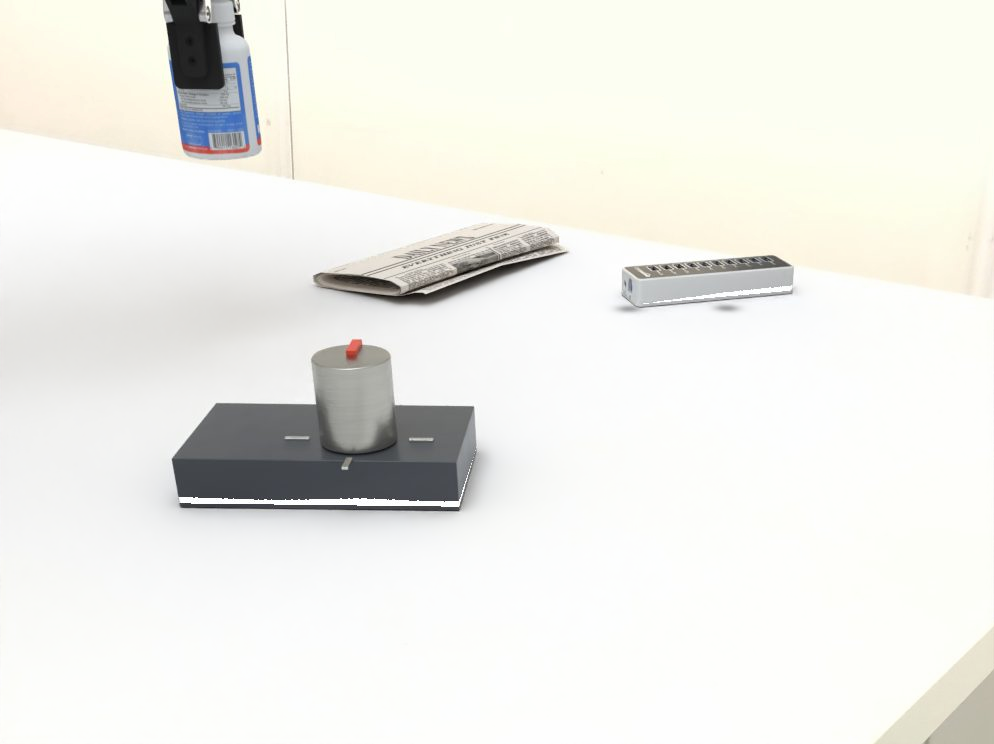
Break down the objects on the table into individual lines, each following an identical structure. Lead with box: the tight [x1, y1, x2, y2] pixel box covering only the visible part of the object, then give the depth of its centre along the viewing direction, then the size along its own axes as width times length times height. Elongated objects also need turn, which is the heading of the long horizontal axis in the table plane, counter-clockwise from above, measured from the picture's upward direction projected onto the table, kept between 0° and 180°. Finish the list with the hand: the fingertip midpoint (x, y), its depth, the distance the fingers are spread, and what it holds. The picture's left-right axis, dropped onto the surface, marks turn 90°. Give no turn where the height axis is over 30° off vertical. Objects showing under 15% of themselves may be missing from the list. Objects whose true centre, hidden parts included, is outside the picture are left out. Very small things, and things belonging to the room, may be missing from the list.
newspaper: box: [312, 222, 570, 297], centre depth 121 cm, size 23×12×2 cm, turn 146°
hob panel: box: [171, 402, 478, 511], centre depth 79 cm, size 16×10×3 cm, turn 90°
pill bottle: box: [166, 0, 263, 161], centre depth 91 cm, size 6×5×10 cm
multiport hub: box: [621, 254, 795, 308], centre depth 115 cm, size 4×14×2 cm, turn 110°
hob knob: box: [310, 338, 398, 454], centre depth 76 cm, size 4×4×5 cm
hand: (212, 79), depth 91 cm, fingers closed on pill bottle, 5 cm apart
